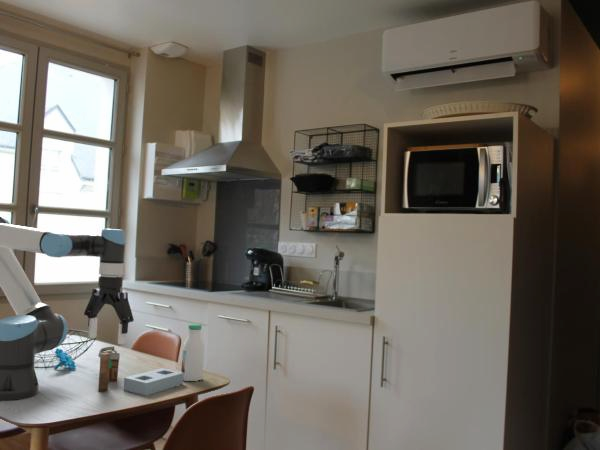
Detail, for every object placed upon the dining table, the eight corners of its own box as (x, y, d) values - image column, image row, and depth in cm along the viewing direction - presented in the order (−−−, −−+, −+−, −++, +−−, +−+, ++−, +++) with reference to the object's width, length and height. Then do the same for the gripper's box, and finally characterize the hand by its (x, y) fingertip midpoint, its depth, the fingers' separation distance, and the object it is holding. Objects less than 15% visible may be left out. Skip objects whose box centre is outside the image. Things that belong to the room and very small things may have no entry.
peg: (102, 392, 179) (105, 355, 179) (96, 390, 180) (98, 353, 181) (109, 390, 182) (112, 353, 182) (103, 388, 183) (105, 352, 183)
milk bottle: (205, 378, 204) (209, 324, 205) (196, 383, 197) (200, 326, 197) (186, 375, 206) (190, 321, 207) (176, 380, 199) (180, 324, 199)
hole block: (145, 395, 179) (146, 383, 179) (123, 389, 184) (124, 377, 184) (182, 384, 194) (183, 372, 194) (161, 379, 199) (162, 368, 199)
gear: (71, 369, 199) (54, 348, 200) (58, 380, 198) (40, 359, 199) (81, 366, 210) (65, 346, 211) (69, 377, 209) (52, 356, 210)
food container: (94, 374, 200) (96, 346, 200) (112, 373, 203) (114, 346, 203) (99, 383, 189) (101, 354, 189) (117, 382, 192) (119, 353, 192)
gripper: (147, 278, 179) (143, 344, 179) (93, 272, 191) (89, 334, 191) (130, 279, 173) (125, 347, 172) (75, 273, 185) (71, 336, 184)
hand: (106, 340), depth 182 cm, fingers open, 13 cm apart
